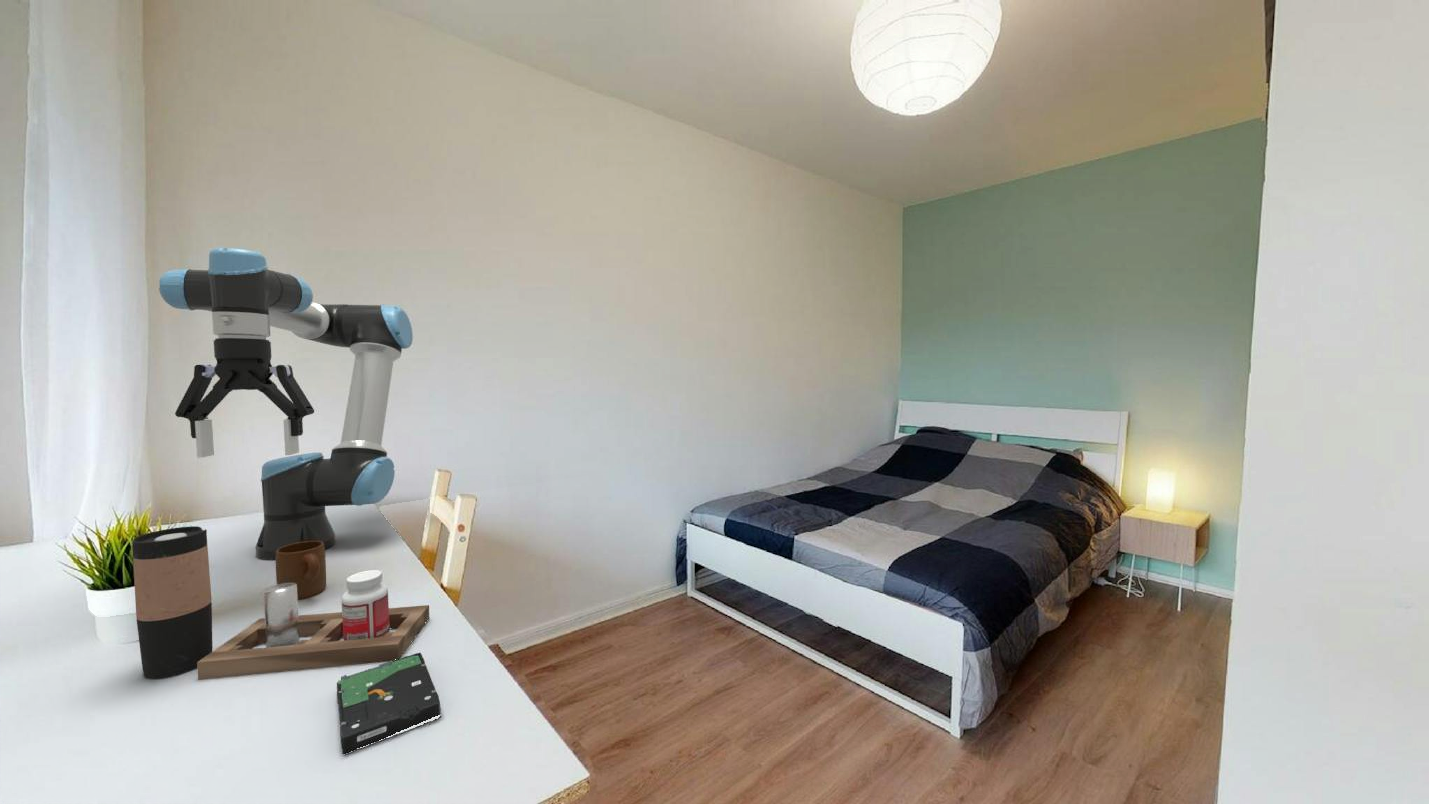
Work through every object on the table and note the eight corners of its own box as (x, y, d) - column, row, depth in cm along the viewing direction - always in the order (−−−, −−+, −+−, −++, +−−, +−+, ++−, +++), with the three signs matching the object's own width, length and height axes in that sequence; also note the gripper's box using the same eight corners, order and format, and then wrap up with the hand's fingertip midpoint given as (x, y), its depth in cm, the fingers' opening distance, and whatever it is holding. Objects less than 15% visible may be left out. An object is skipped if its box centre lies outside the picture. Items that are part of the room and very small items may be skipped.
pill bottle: (385, 628, 86) (382, 565, 86) (394, 642, 82) (391, 575, 81) (340, 642, 82) (337, 575, 81) (347, 657, 78) (344, 587, 77)
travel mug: (124, 684, 71) (114, 544, 70) (167, 654, 78) (158, 528, 77) (192, 675, 73) (183, 539, 72) (227, 647, 80) (219, 524, 79)
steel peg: (277, 644, 81) (274, 583, 81) (305, 641, 82) (302, 581, 82) (260, 658, 77) (256, 594, 77) (290, 655, 78) (286, 592, 78)
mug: (341, 596, 98) (339, 549, 98) (292, 611, 92) (289, 561, 92) (319, 581, 105) (317, 537, 105) (272, 594, 99) (269, 548, 99)
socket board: (261, 632, 85) (260, 618, 85) (429, 618, 90) (428, 605, 90) (198, 679, 72) (196, 662, 72) (398, 659, 77) (397, 643, 77)
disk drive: (443, 722, 64) (421, 668, 76) (442, 701, 64) (420, 650, 76) (342, 761, 58) (335, 696, 69) (341, 738, 58) (334, 676, 69)
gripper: (140, 335, 85) (149, 461, 86) (309, 337, 89) (315, 456, 91) (177, 338, 92) (185, 453, 93) (332, 340, 97) (337, 449, 98)
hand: (249, 455), depth 92 cm, fingers open, 13 cm apart
